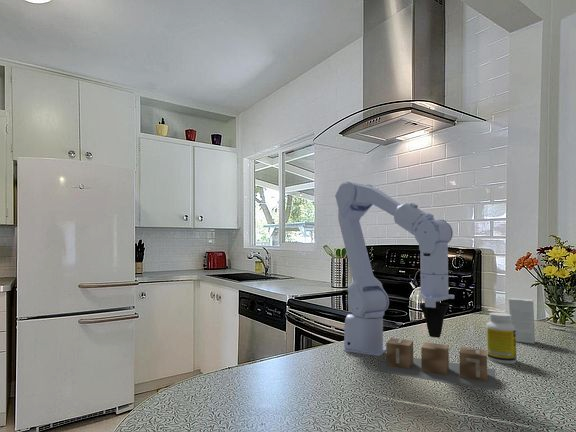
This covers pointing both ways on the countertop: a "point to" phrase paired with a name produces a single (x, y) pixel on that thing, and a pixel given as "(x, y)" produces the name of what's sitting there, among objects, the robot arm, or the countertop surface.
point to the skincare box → (523, 319)
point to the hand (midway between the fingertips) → (434, 336)
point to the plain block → (435, 358)
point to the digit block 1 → (399, 353)
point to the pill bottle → (501, 338)
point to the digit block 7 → (473, 363)
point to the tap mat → (451, 376)
